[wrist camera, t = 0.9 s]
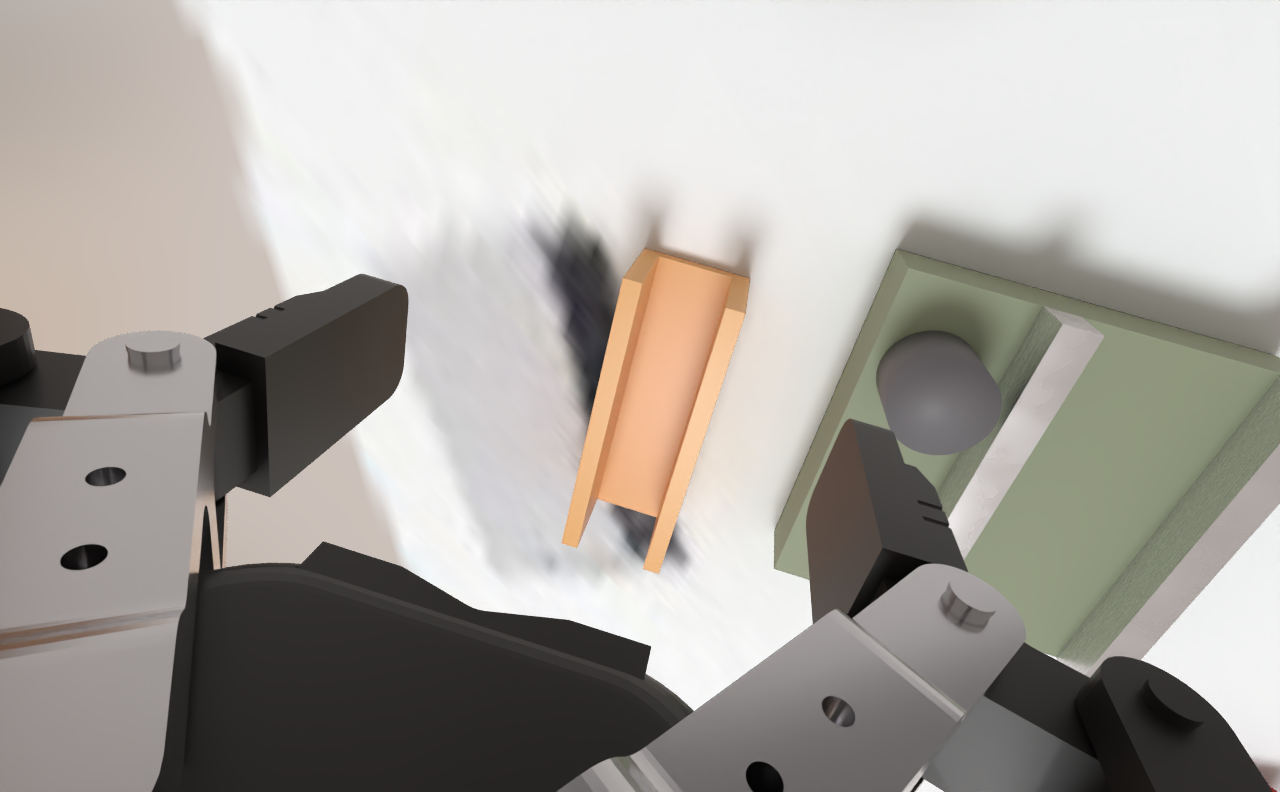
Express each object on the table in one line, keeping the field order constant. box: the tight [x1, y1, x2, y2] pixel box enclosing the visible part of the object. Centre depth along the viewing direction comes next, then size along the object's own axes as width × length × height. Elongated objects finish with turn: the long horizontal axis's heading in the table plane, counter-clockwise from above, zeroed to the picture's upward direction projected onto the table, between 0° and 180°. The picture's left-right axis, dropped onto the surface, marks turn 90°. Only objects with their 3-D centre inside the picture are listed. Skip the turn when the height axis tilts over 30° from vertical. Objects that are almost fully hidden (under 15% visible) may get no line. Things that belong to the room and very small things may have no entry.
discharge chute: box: [562, 248, 750, 574], centre depth 31 cm, size 14×5×5 cm, turn 167°
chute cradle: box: [937, 306, 1280, 677], centre depth 28 cm, size 16×10×2 cm, turn 167°
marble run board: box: [774, 249, 1280, 657], centre depth 29 cm, size 16×16×6 cm
